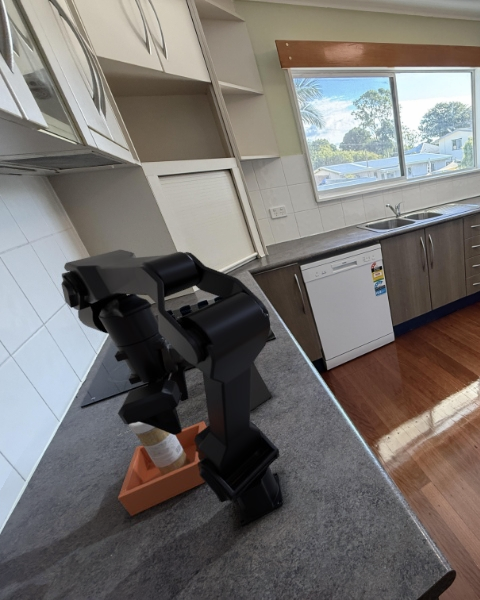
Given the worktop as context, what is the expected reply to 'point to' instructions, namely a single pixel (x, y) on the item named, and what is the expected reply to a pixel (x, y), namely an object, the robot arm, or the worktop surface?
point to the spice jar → (161, 447)
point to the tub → (160, 475)
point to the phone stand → (257, 389)
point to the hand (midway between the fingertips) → (182, 415)
